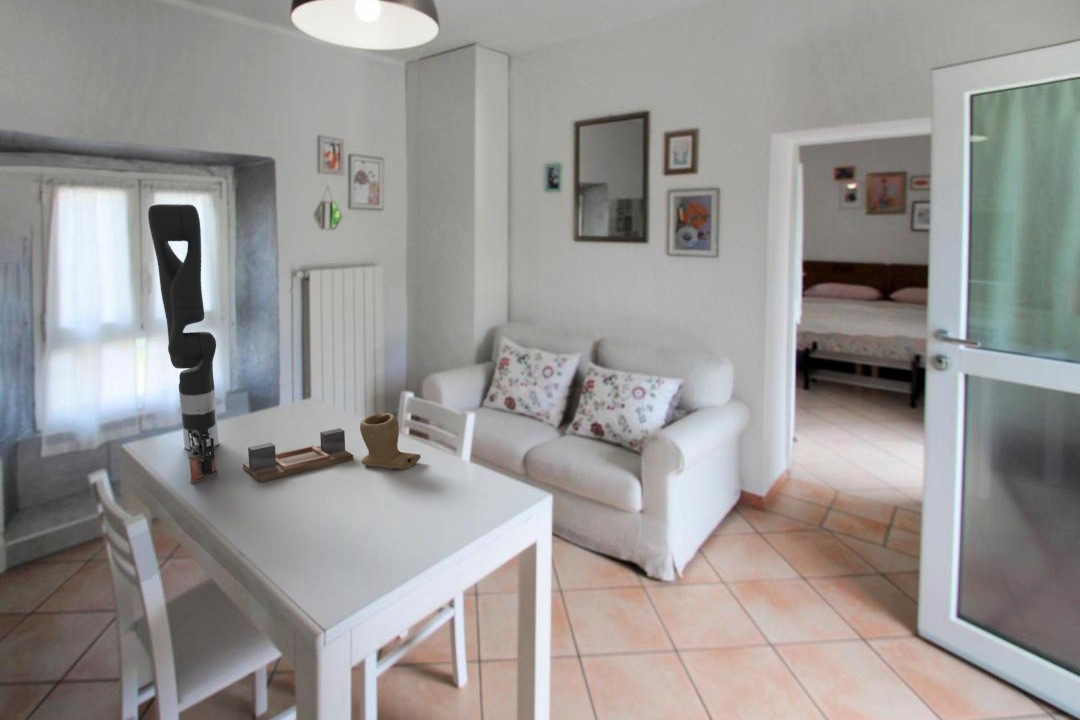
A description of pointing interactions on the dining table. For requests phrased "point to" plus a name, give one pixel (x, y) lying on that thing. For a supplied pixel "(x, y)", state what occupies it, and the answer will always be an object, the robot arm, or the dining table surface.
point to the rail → (297, 457)
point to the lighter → (199, 467)
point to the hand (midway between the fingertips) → (203, 470)
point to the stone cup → (384, 443)
